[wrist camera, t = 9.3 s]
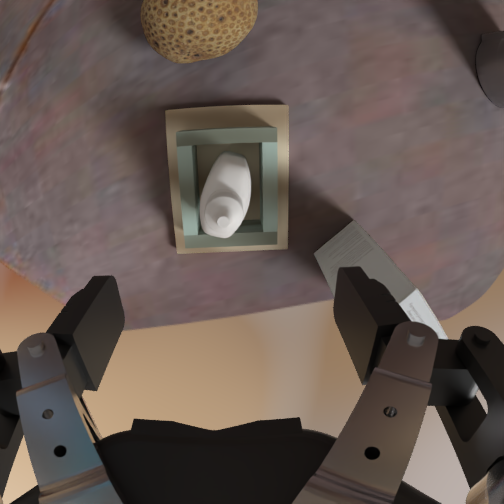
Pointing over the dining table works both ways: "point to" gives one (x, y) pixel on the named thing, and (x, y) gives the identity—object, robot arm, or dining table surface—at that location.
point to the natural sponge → (196, 27)
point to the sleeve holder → (202, 159)
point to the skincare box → (374, 271)
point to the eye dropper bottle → (225, 195)
